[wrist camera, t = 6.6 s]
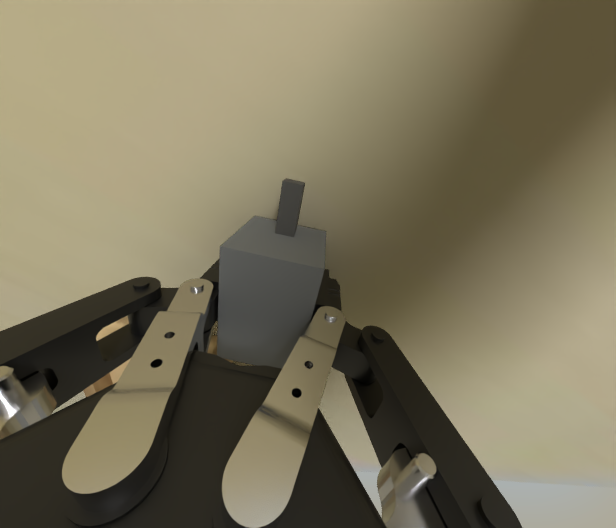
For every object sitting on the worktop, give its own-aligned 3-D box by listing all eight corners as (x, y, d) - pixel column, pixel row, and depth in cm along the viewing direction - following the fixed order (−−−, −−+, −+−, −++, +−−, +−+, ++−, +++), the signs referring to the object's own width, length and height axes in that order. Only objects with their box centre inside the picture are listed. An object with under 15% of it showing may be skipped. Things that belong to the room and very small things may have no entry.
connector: (337, 186, 12) (341, 206, 8) (299, 339, 16) (289, 400, 12) (259, 169, 12) (221, 179, 7) (244, 327, 16) (215, 385, 12)
